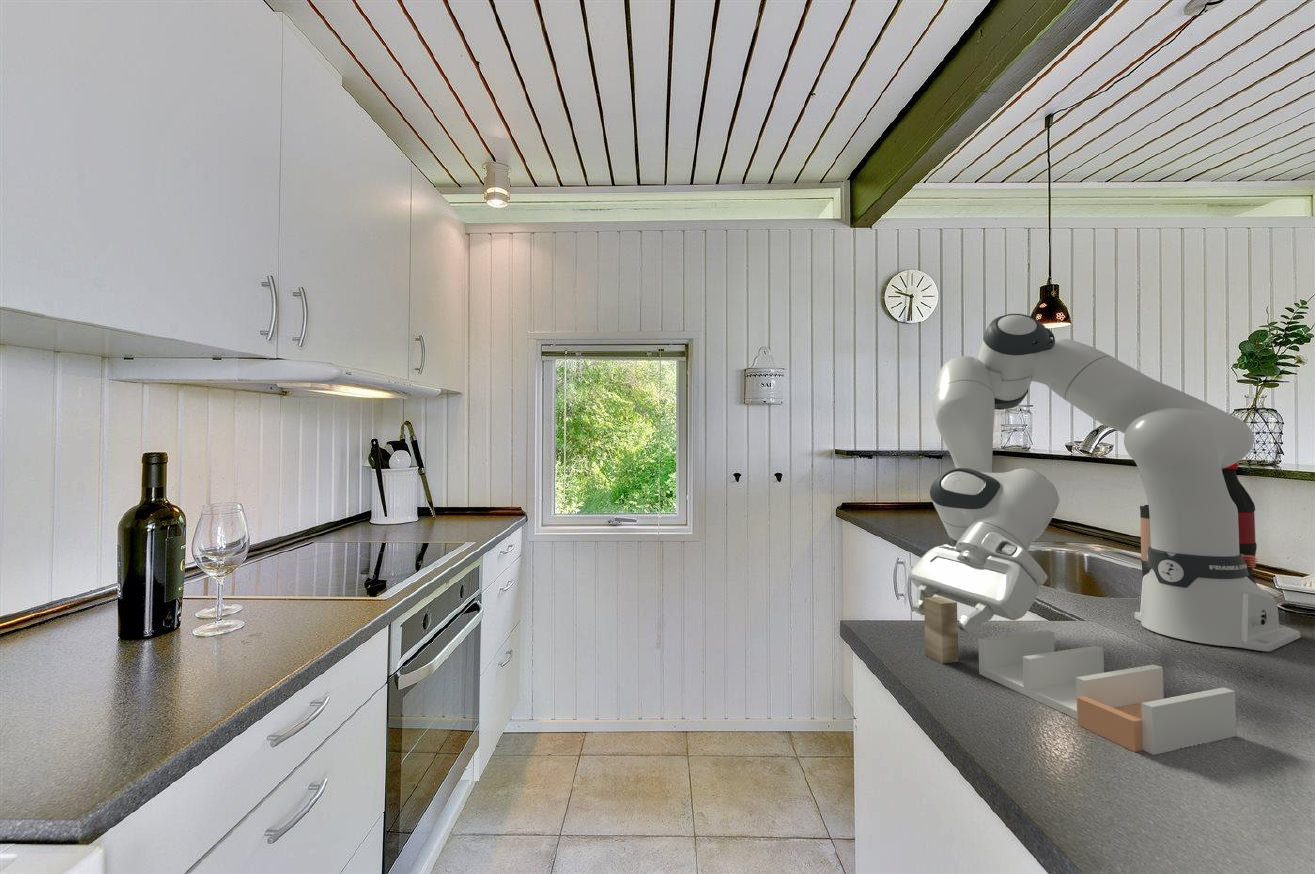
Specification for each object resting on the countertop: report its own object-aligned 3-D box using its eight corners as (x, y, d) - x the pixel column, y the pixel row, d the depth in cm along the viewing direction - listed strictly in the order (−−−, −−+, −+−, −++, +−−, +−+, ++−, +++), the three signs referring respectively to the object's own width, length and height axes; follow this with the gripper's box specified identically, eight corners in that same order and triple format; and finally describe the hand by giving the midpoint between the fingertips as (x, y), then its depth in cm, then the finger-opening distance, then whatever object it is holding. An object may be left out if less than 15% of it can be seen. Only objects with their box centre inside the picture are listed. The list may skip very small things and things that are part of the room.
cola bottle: (1245, 601, 114) (1239, 456, 115) (1269, 612, 106) (1263, 457, 107) (1191, 596, 117) (1186, 457, 118) (1211, 607, 110) (1205, 457, 110)
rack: (1048, 663, 82) (1047, 629, 83) (1236, 735, 61) (1234, 690, 61) (972, 674, 79) (971, 639, 79) (1145, 756, 57) (1143, 708, 58)
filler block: (941, 653, 87) (939, 596, 87) (958, 661, 84) (957, 602, 84) (925, 655, 86) (924, 597, 87) (942, 663, 83) (940, 603, 83)
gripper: (928, 531, 98) (882, 590, 95) (1034, 551, 78) (980, 627, 75) (949, 554, 99) (904, 614, 96) (1059, 580, 79) (1007, 656, 76)
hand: (938, 620), depth 86 cm, fingers open, 8 cm apart
